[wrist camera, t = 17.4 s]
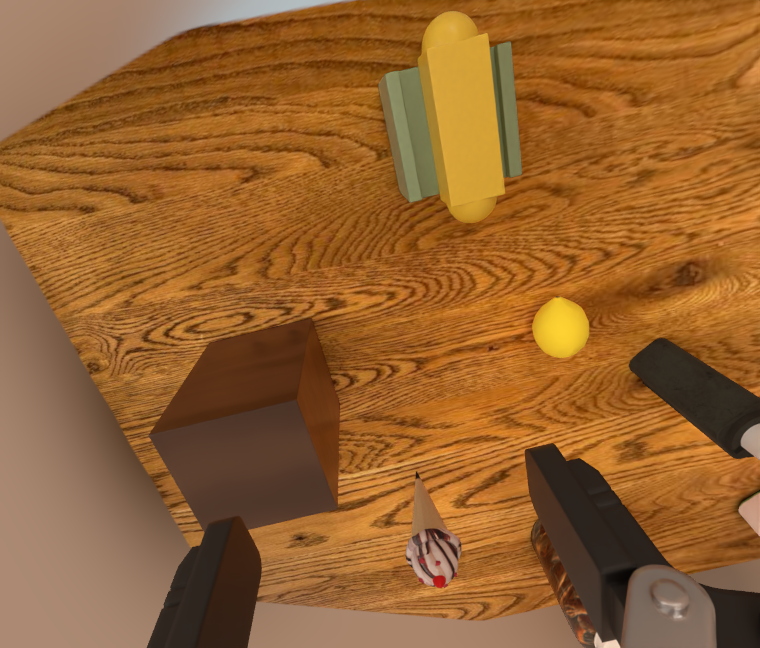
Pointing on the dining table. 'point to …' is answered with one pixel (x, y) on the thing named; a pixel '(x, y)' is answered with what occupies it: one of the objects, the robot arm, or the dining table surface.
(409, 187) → the block
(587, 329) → the lemon
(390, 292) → the dining table surface
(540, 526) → the jar
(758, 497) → the cup
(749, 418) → the candle
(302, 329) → the block
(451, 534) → the ice cream cone
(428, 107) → the yellow ball-topped peg
